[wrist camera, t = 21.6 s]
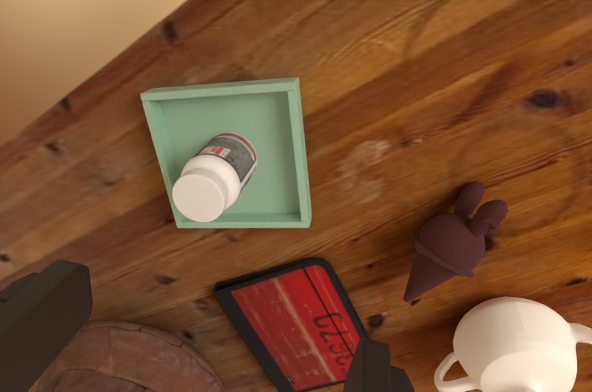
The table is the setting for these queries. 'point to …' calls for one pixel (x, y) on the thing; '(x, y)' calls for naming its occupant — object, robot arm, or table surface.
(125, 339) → the pottery vessel
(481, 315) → the teapot
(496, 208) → the icecream
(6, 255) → the table surface
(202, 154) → the pill bottle
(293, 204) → the tray
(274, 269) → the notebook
